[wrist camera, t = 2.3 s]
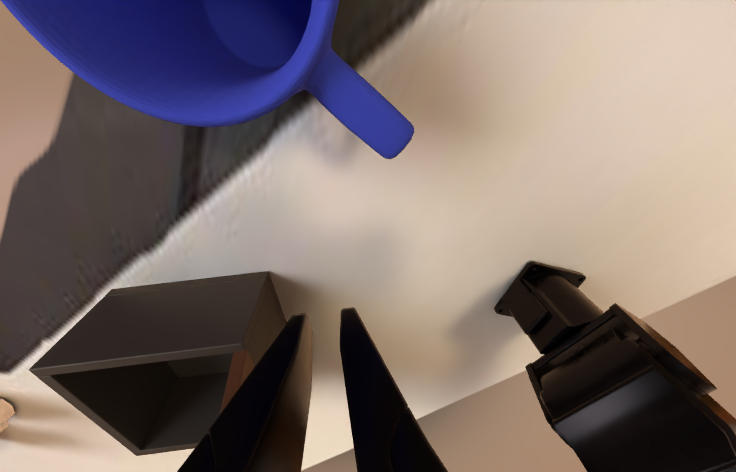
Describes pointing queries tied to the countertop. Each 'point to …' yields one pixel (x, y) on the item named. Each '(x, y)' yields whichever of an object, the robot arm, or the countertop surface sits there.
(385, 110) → the mug
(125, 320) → the storage box
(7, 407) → the shaker set
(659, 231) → the countertop surface
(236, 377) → the brown square block
